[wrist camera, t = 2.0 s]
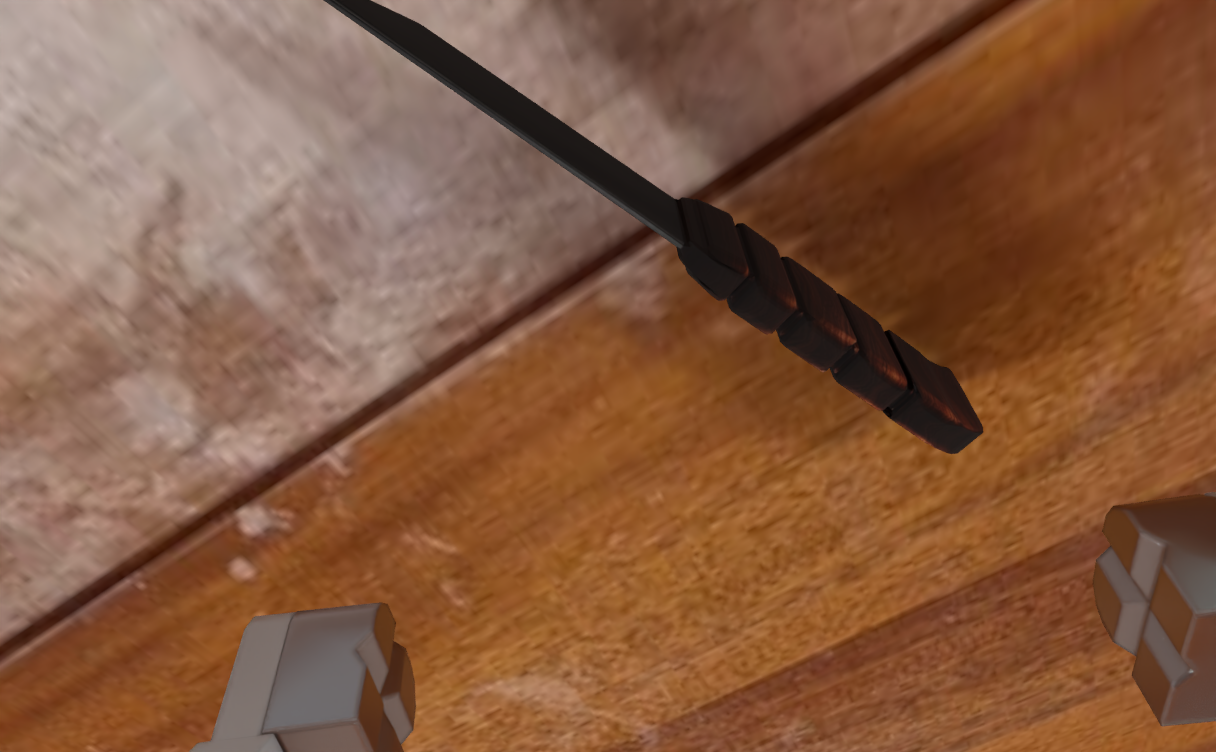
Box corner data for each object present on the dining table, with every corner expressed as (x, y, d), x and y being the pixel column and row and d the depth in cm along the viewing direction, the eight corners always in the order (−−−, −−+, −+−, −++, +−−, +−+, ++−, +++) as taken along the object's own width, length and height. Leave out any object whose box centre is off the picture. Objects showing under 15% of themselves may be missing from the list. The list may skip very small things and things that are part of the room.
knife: (276, -68, 17) (231, -22, 15) (303, -116, 17) (261, -76, 15) (930, 398, 24) (974, 483, 22) (961, 372, 24) (1008, 456, 21)
